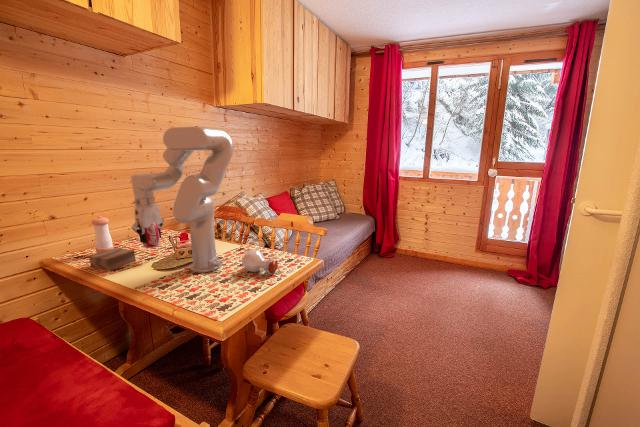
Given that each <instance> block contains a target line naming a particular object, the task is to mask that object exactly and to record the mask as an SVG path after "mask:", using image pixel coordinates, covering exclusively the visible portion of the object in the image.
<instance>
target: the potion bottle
mask: <svg viewBox="0 0 640 427" xmlns="http://www.w3.org/2000/svg"><path fill="white" fill-rule="evenodd" d="M241 261H242V262H241V263H242V267H243V268H244V269H245V271H248V272H250V273H256V272H259V271H260V270H263V271H264V272H265V273H267V274H271V275H275V274H276V271H277V269H278V268H279V265H278V260H277V259H276V260H274V257H272V258H270V259H269V258H265V255H264V253H263V252H262V251H261V250H258V249H249V250H248V251H246V252H245V253H244V254H243V257H242V259H241Z"/></svg>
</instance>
